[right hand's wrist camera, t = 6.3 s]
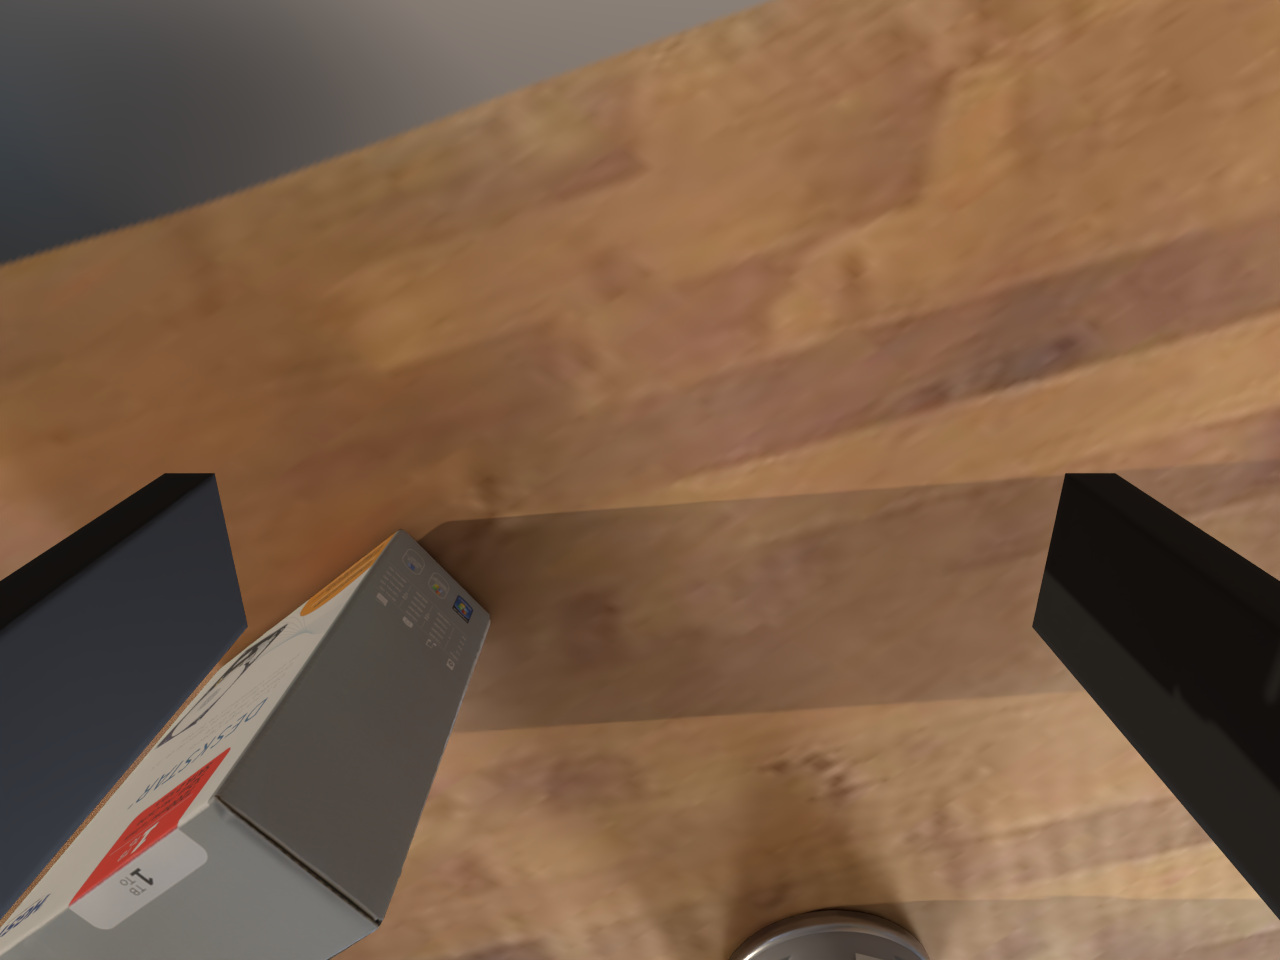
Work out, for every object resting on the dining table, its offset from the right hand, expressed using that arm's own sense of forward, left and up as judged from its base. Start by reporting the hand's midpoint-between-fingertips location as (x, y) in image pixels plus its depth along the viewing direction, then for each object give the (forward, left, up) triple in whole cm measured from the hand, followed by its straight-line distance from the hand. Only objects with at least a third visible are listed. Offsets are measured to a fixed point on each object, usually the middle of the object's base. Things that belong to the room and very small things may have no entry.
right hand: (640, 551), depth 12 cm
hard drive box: (-20, +17, -28) cm, 38 cm away
